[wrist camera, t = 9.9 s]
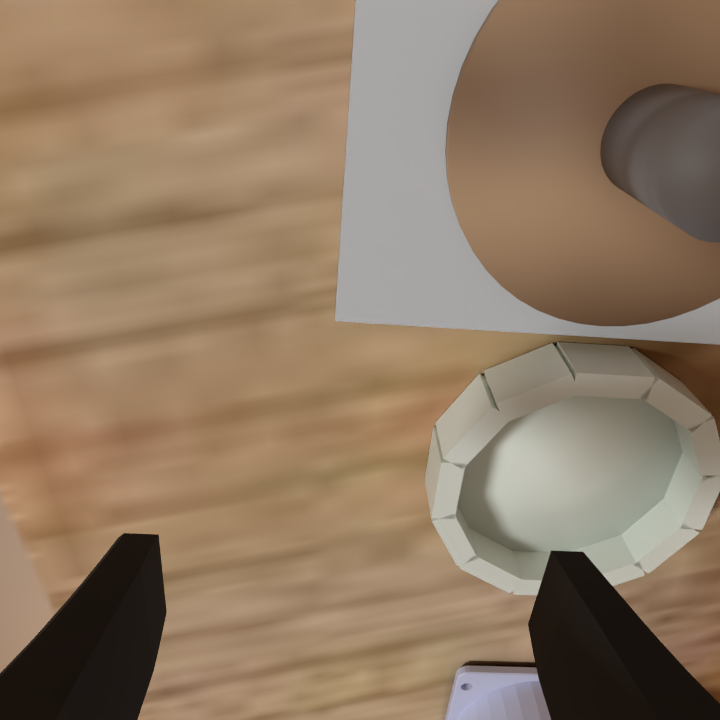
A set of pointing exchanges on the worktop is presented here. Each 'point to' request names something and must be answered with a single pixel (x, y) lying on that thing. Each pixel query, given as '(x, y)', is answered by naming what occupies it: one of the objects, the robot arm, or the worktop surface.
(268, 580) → the worktop surface
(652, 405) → the celadon dish
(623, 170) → the walnut lid
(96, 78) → the worktop surface
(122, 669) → the robot arm
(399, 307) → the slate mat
